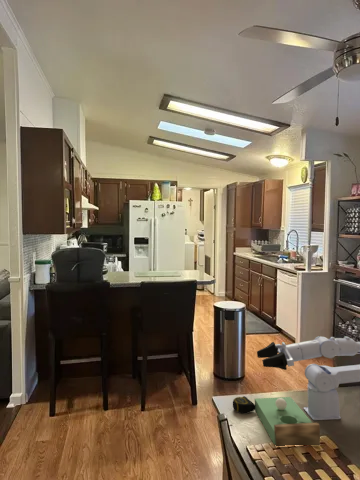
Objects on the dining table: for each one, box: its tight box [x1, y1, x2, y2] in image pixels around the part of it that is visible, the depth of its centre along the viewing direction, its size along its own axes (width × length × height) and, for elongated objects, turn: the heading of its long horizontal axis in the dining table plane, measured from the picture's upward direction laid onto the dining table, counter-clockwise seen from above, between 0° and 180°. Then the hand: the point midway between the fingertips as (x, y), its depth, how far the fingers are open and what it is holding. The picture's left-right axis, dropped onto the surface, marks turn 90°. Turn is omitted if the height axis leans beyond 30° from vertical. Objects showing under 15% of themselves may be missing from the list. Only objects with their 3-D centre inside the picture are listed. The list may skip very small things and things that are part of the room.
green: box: [254, 396, 319, 446], centre depth 107 cm, size 13×22×4 cm, turn 3°
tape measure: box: [232, 395, 255, 414], centre depth 118 cm, size 7×7×4 cm
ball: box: [275, 397, 287, 410], centre depth 110 cm, size 4×4×4 cm
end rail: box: [274, 422, 321, 446], centre depth 97 cm, size 13×1×6 cm, turn 93°
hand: (260, 358), depth 114 cm, fingers open, 7 cm apart
